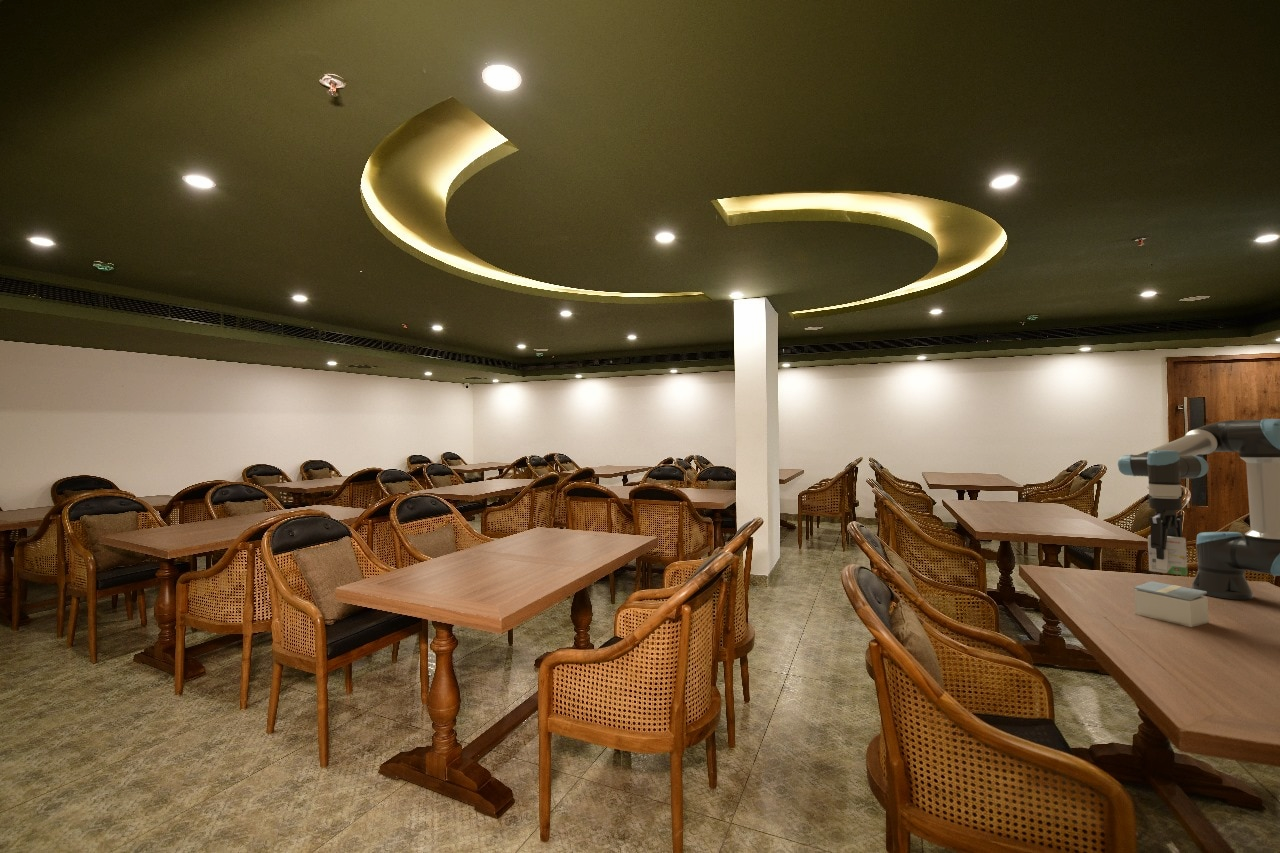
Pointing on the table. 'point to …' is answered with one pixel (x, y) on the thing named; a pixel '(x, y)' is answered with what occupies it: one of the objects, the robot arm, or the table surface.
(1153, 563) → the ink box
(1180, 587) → the lid
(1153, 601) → the carton
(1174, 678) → the table surface
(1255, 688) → the table surface
